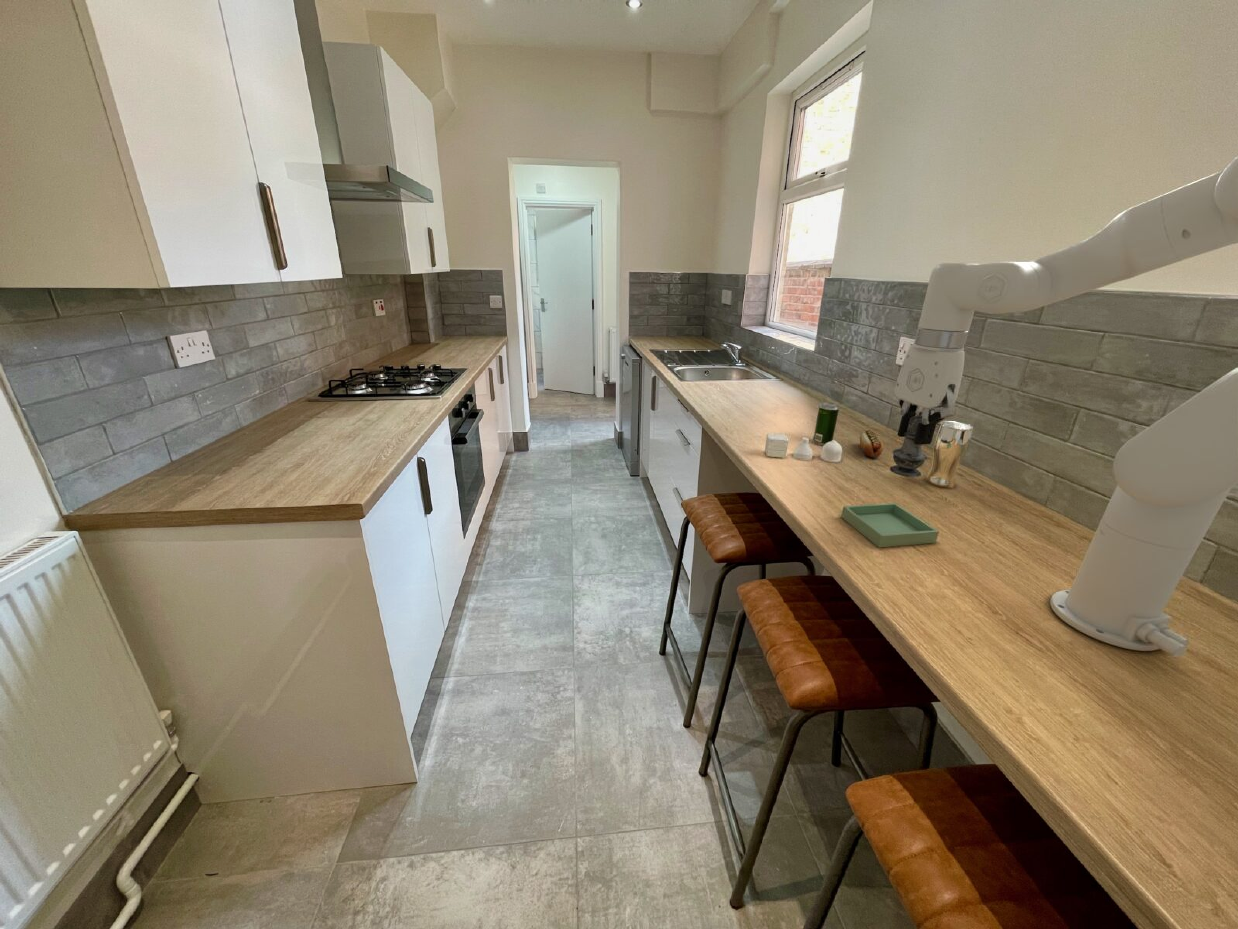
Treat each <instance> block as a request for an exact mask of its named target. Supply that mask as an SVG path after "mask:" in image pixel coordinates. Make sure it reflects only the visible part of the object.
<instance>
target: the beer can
mask: <svg viewBox="0 0 1238 929" xmlns="http://www.w3.org/2000/svg"><path fill="white" fill-rule="evenodd" d="M839 411H840V408H839V404H838V403H837V402H831V401H822V402H820V405H819V406H818V410H817V416H816V420H815V426H814V433H813V438H812V439H813V443H814V444H815V445H819V446H822V447H823V446H824V445H825V444H826V443H828V442H831V441H832V440H834V436H835V431H836V426H837V420H838V415H839Z"/></svg>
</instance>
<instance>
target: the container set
mask: <svg viewBox="0 0 1238 929" xmlns="http://www.w3.org/2000/svg"><path fill="white" fill-rule="evenodd" d="M809 441H810V439H809V438H808V437H802V439H801V443H799V444H798V445H797V446H796V448H794V449H793V454H792V457H793V458H794V459H796V460H800V461H811V460H812V459H813V454H814V453H813V452H814V451H813V450H812V448H811V446H810V445H809V444H810V443H809ZM788 446H789V439H788V437H787V435H786V434H784V433H783V434H782V433H781V434H780V433H767V434H766V438H765V444H764V452H765V455H766V456H767V457H771V458H772V457H773V458H786V457H787V454H788V453H787V452H788ZM842 453H843V448H842V446H841V444H840V443H839V442H837V440H835V439H833V440H832V441H831V442H828V443H826V444H825V445H824V446H822V450H821V454H820V459H821V460H822V461H825V462H828V463H839V462H842V461H841V460H842Z"/></svg>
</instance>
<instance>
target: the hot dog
mask: <svg viewBox="0 0 1238 929" xmlns="http://www.w3.org/2000/svg"><path fill="white" fill-rule="evenodd" d="M859 444H860V445H859V446H860V449H861V451H862V452H863V453H864V454H865V455H866V456H867V457H870V458H878V457H880V456H881V454H882V452H883V450H884V442H883V441H882V440H881V437H880V436H879V435H878V434H877V433H876V432H873V431H872V430H866V431H863V432H861V433H860V435H859Z"/></svg>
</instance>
